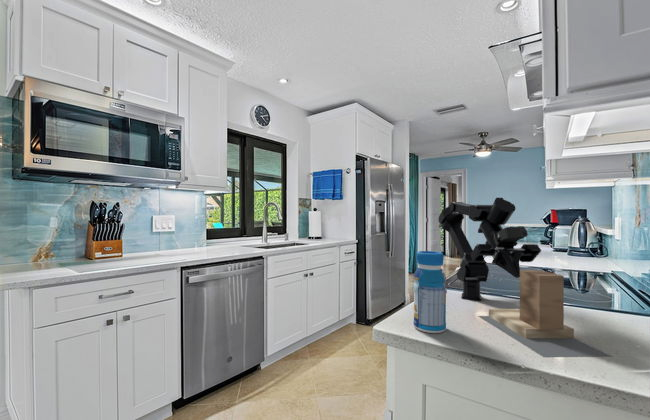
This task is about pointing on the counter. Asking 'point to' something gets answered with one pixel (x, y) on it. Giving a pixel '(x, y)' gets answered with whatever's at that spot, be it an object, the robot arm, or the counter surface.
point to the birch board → (526, 325)
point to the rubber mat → (551, 344)
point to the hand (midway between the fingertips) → (518, 277)
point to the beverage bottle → (430, 293)
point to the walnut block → (542, 299)
